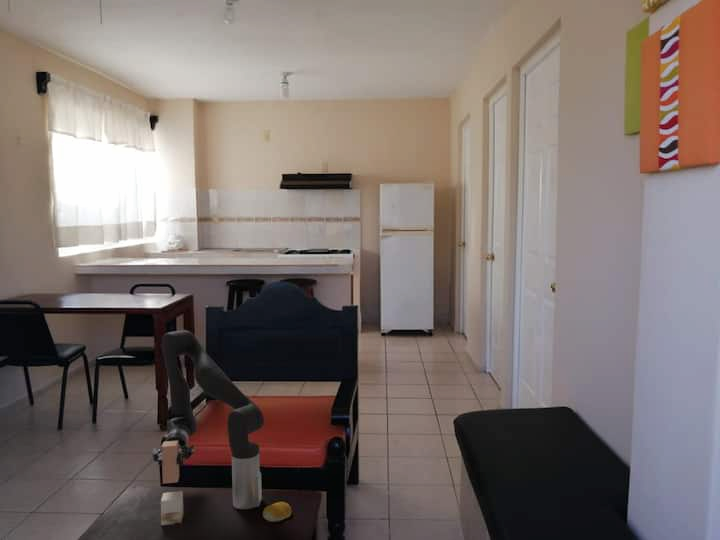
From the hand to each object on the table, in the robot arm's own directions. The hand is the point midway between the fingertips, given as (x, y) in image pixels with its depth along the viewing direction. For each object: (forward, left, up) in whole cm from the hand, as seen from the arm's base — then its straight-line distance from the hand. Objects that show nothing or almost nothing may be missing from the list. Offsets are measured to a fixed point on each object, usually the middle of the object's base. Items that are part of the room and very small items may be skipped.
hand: (169, 462), depth 178 cm
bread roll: (-33, -4, -20) cm, 39 cm away
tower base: (0, -3, -20) cm, 20 cm away
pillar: (+1, -3, -7) cm, 8 cm away
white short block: (0, -3, -16) cm, 16 cm away
